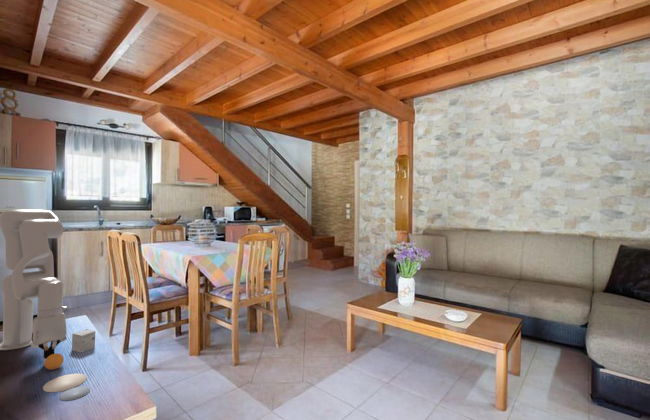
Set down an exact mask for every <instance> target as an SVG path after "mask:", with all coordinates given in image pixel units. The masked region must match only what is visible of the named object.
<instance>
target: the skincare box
mask: <svg viewBox="0 0 650 420" xmlns="http://www.w3.org/2000/svg"><path fill="white" fill-rule="evenodd" d="M71 336H72V338H71V340H72V341H71V351H73V352H75V353H76V352H77V353H84V352H86V351H88V350H89V351H90V350H92V349H95V348H96V330H92V329H87V328H86V329H84V330H80V331H75V332H73V333H72V335H71Z"/></svg>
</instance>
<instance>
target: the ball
mask: <svg viewBox="0 0 650 420" xmlns="http://www.w3.org/2000/svg"><path fill="white" fill-rule="evenodd" d="M63 363H64V356H63V355H62V354H60V353H58V352H57V353H54V354H52V355H50V356H48V357H47V358H46V359H45V360H44V363H43V364H44V367H45V368H46V369H47V370H49V371H51V370H56V369H58V368H60V367H61V366H62V364H63Z"/></svg>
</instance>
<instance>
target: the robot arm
mask: <svg viewBox="0 0 650 420" xmlns="http://www.w3.org/2000/svg"><path fill="white" fill-rule="evenodd" d="M0 231H1V232H2V235H3V237H4V241H5V264H6V268H7V269H8V270H9V271H10V270H11V271H12V272H11V274H8V275H6V276H5V277H4V278H3V279H2V280H1V291H2V299H3V322H2V342H0V351H11V350H13V351H14V350H18V349H23V348H26V347H29V346H30V347H31V348H32V349H38V348H39V349H41V350H43V359H45V360H46V358H47V357H48V356H50V355H52V354H55V350H56V348H57V346H58V345H59V344H60V343H62V342H64V341H66V340H67V333H68V332H67V320H66V315H65V313H64V311H67V310H68V307H67V306H63V304H64V302H63V300H64V299H63V298H64V282H63V280H60V279H58V277H55V269H54V268H55V267H54V264H55V263H54V254H53V252H52V250H51V249H50V244H49V239H58V238H60V237H62V236H63V235H64V225H63V223H62V221H61V220H60V218H59V217H58V216H57V215H56V214H55V213H54V212H53V211H51V210H47V209H9V210H5V211H3V212H2V213H0ZM32 269H38V270H37V271H25V270H32ZM32 299H37V313H36V314H37V316H35V317H34V302H33V300H32ZM48 343H50V345H49V346H48Z"/></svg>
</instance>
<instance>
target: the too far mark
mask: <svg viewBox="0 0 650 420" xmlns="http://www.w3.org/2000/svg"><path fill="white" fill-rule="evenodd" d="M90 391H91V388H90V387H89V386H77V387H74V388H72V389H69V390H65V391H62V393H61V394H60V395H59V400H60V401H63V402H64V401H65V402H68V401H69V400H70V401H74V400H78V399H80V398H83V397H85V396H87V395H88V394H89V393H90Z"/></svg>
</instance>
